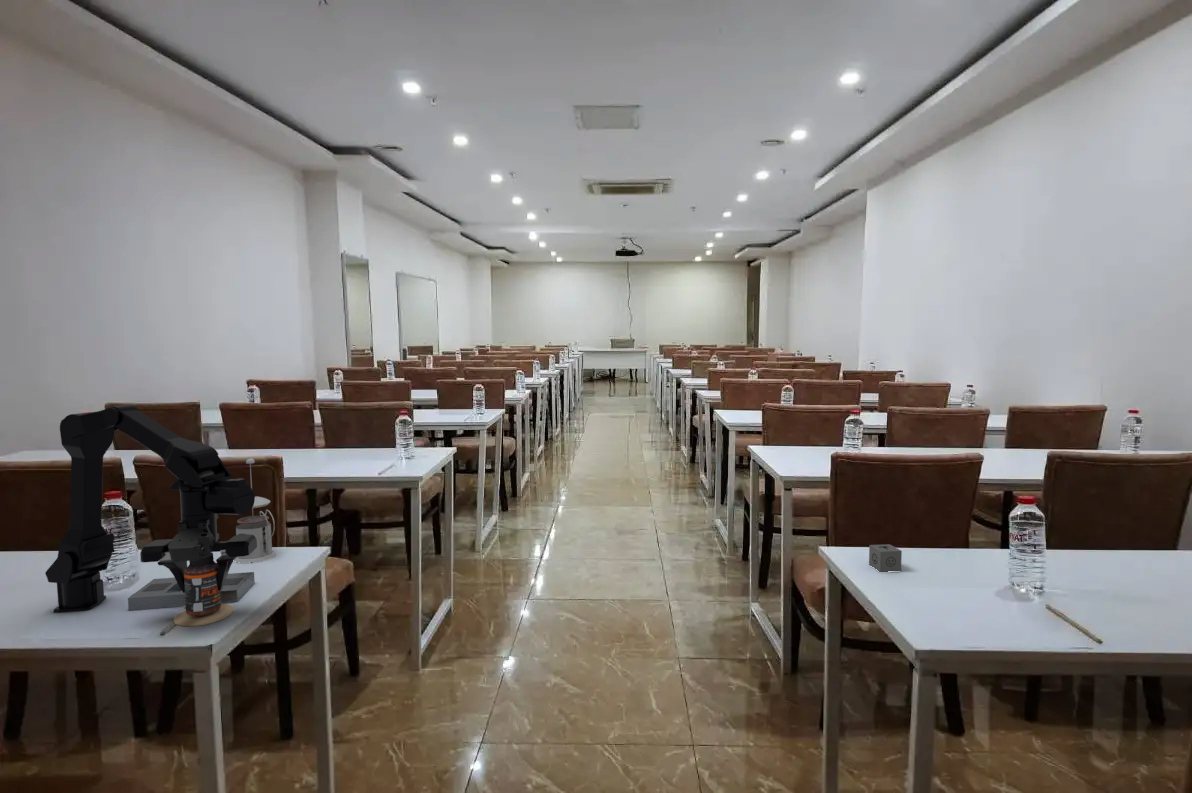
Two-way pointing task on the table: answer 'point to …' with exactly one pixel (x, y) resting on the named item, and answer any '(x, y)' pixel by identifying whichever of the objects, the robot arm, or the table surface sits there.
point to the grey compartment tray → (170, 594)
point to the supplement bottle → (202, 586)
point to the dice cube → (885, 558)
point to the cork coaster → (204, 617)
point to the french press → (257, 530)
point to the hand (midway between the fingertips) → (202, 591)
